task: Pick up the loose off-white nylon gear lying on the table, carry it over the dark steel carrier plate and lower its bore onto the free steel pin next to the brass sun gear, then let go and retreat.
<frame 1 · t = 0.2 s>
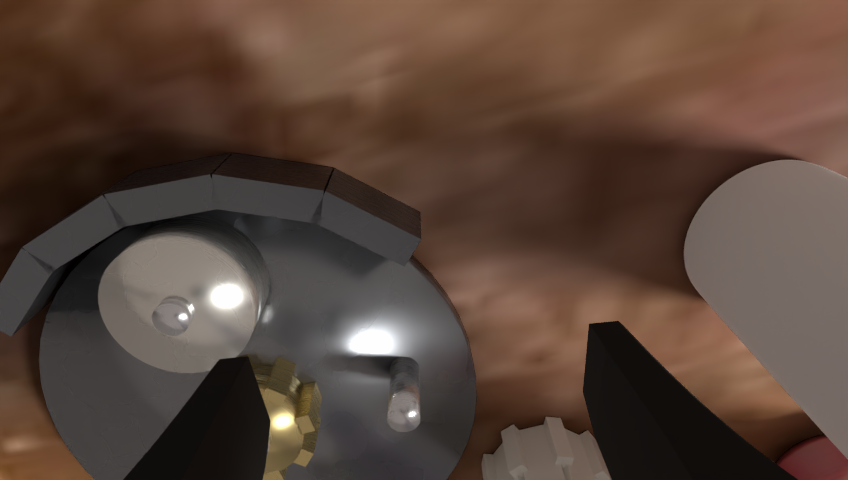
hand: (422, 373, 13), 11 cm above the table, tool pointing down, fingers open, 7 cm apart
carrier: (268, 387, 26), on the table
planet gear: (540, 463, 28), on the table
can: (758, 233, 23), on the table
liquor: (814, 466, 28), on the table
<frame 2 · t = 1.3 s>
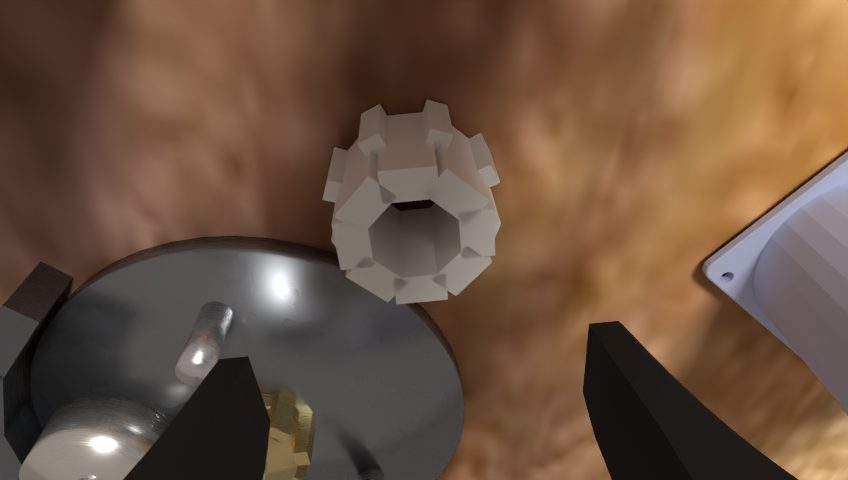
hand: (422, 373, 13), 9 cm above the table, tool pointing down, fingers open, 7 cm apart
carrier: (261, 405, 26), on the table
planet gear: (411, 177, 20), on the table
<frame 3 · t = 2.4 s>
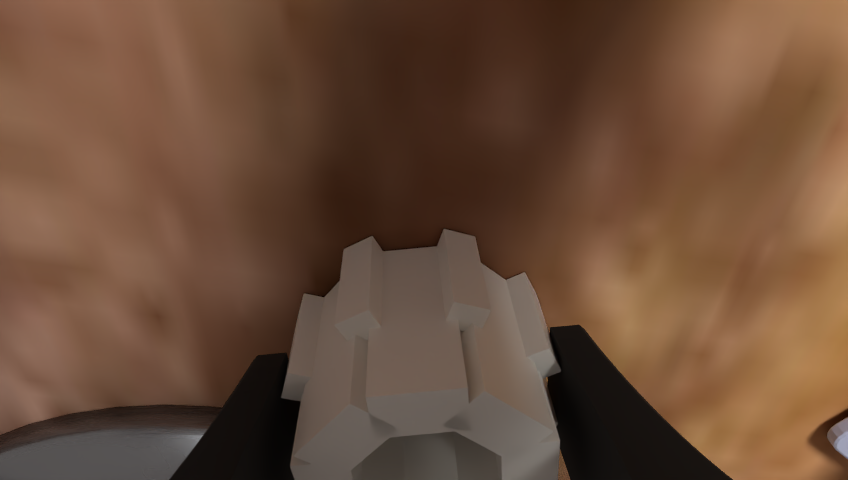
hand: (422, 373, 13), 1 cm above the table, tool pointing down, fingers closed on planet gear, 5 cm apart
planet gear: (419, 329, 14), on the table, touching gripper
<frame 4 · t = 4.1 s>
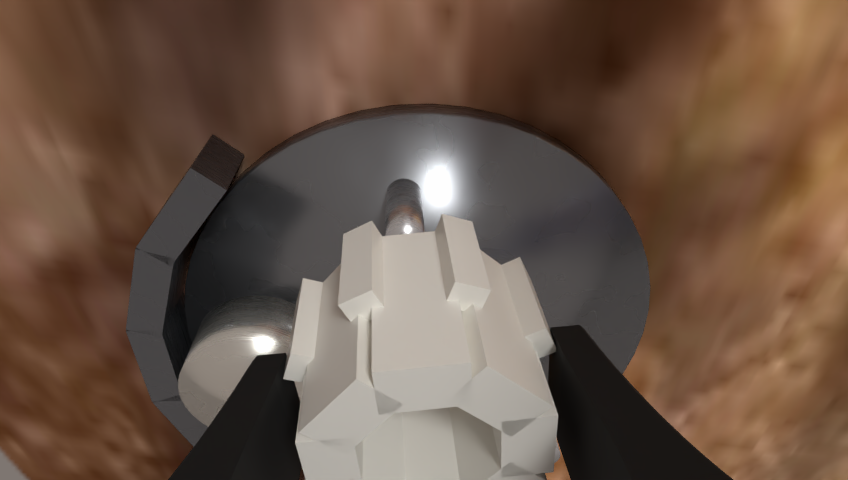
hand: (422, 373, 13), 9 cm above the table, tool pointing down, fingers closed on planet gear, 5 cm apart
carrier: (419, 315, 24), on the table
planet gear: (416, 314, 14), point 8 cm above the table, touching gripper
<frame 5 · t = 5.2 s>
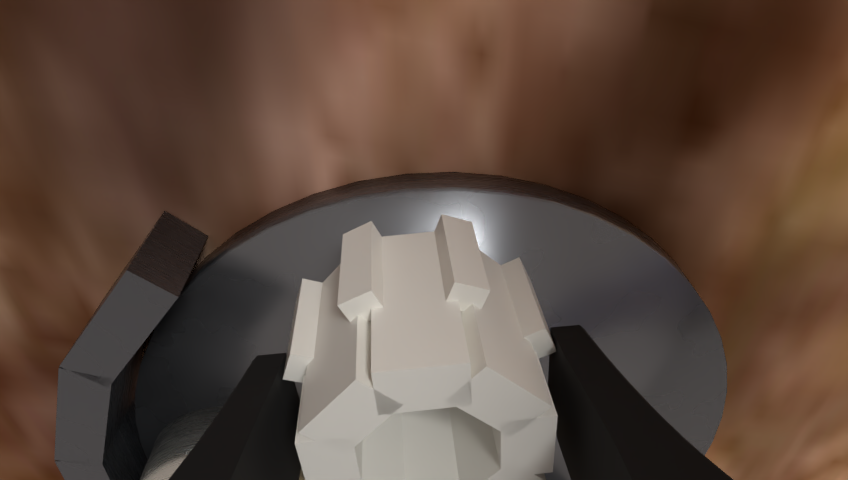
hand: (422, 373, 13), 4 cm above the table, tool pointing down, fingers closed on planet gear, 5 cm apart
carrier: (433, 418, 19), on the table
planet gear: (415, 314, 14), point 2 cm above the table, touching gripper
when the fingers open (4 cm above the table, at t = 5.8 s): planet gear drops 1 cm, resting on carrier.
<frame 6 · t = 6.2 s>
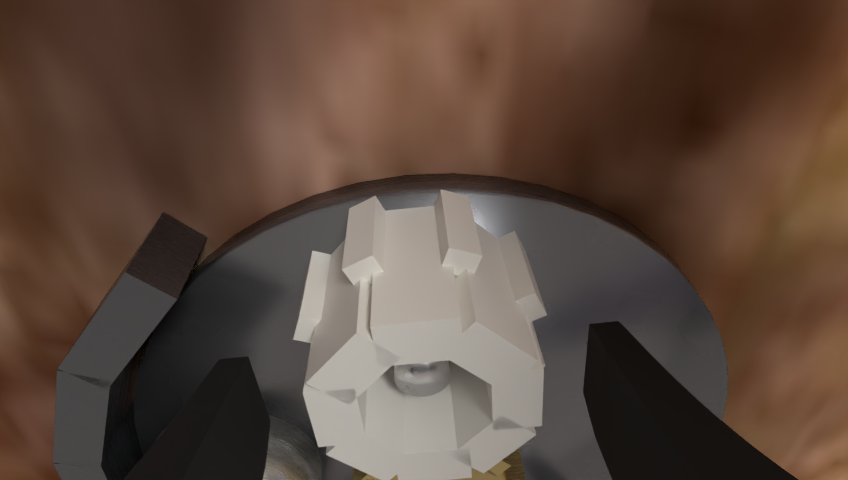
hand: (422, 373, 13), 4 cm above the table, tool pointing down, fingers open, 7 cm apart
carrier: (433, 420, 19), on the table
planet gear: (418, 286, 15), point 1 cm above the table, touching carrier
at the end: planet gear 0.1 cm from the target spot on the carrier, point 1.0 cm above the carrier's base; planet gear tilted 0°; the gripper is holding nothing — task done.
